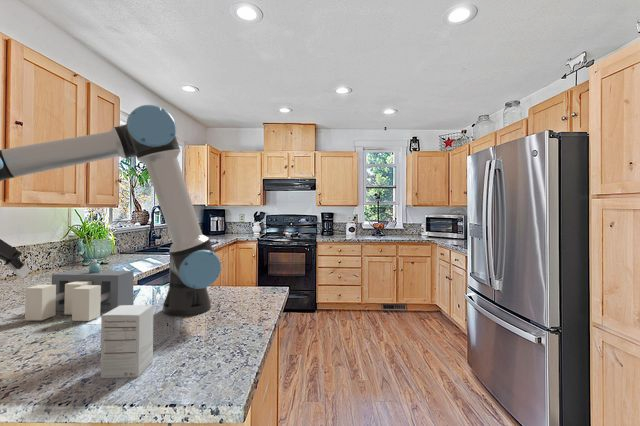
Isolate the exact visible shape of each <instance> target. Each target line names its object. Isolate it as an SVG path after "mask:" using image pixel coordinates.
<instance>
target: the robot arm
mask: <svg viewBox="0 0 640 426" xmlns="http://www.w3.org/2000/svg"><path fill="white" fill-rule="evenodd" d="M176 134H177V125H176V122H175V119H174V118H173V116H172V115H171V114H170V113H169V111H167V109H164V108H163V107H160V106H158V105H154V104H144V105H140V106H138V107H136V108H134V109H133V110H132V111H131V112H130V113H129V114H128V116H127V118H126V123H125V124H122V125H119V126H118V125H117V126H113V127H112V128H110V130H109V131H105V132H98V133H93V134H87V135H82V136H76V137H75V136H74V137H70V138H69V137H68V138H63V139H57V140H56V139H55V140H50V141H46V142H45V141H44V142H37V143H34V144H27V145H21V146H15V147H9V148H5V149H0V182H2V181H5V180H9V179H14V178H18V177H24V176H29V175H34V174H37V173H43V172H48V171H53V170H57V169H63V168H68V167H73V166H78V165H83V164H88V163H91V162H92V163H93V162H97V161H101V160H107V159H111V158H117V157H120V158H122V159H129V158H135V157H136V159H137V161H138V162H140V163H142V164H144V166H145V167H146V171H147V173H148V176H149V178H150V181H151V184H152V187H153V190H154V193H155V195H156V199H157V201H158V204H159V207H160V209H161V213H162V216H163V219H164V222H165V225H166V227H167V230H168V234H169V235H170V239H171V242H172V243H171V245H170V246H169V251H168V252H169V253H168V254H169V273H168V274H169V280H168V287H169V288H168V291H167V293H166V296H165V299H164V301H163V302H164V303H163V304H162V313H163V314H164V315H167V316H170V317H171V316H173V317H186V316H187V317H188V316H194V315H199V314H203V313H207V312H208V311H210V310H211V308H212V306H211V305H212V301H211V297H210V295H209V291H208V287H210V286H212V285H214V284H215V282H216V281H217V280H218V278H219V277H220V274H221V271H222V262H221V260H220V258H219V256H218V255H217V254H216V253H215V252H214V249H213V246H212V243H211V240H210V237H208V236H207V235H205V234H203V232H202V229H201V226H200V223H199V220H198V217H197V215H196V211H195V207H194V205H193V202H192V200H191V196H190V193H189V190H188V188H187V184H186V181H185V178H184V175H183V172H182V169H181V166H180V163H179V160H178V156H179V155H180V153H181V147H180V145H179V142H178V138H177V136H176ZM22 255H23V253H22V252H21V251H19V250H18V249H16V248H15V247H14V246H12V245H10V244H9V243H7V242H6V241H4V240H2V239H1V238H0V260H1V261H4V263H3V264H4V265H5V266H6V267H8V268H9V270H11V272H13V273H14V274H15V275H16V276H17V277H18V278H19V279H20V280H23V279H25V277H27V276H28V274H30V272H31V270H30V268H28V266H27V265H26V264H24V262H23V261H22V260H20V256H22Z"/></svg>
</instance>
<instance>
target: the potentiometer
mask: <svg viewBox="0 0 640 426" xmlns="http://www.w3.org/2000/svg"><path fill="white" fill-rule="evenodd" d="M97 261H98V260H97V259H92V263H89V266H88V270H89V273H99V272H100V270H101V268H100V267H101V264H100V263H97Z"/></svg>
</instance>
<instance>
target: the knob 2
mask: <svg viewBox="0 0 640 426" xmlns="http://www.w3.org/2000/svg"><path fill="white" fill-rule="evenodd" d="M109 298H110V292H107V293H104V294H101V285H84V286H80V287H77V288H74V289H73V298H72V314H71V321H73V322H75V321H76V322H91V321H92V320H94V319H97V318H99V317H101V311H100V302H102V301H104V300H107V299H109Z"/></svg>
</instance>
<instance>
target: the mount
mask: <svg viewBox="0 0 640 426" xmlns="http://www.w3.org/2000/svg"><path fill="white" fill-rule="evenodd" d="M134 272H135V271H134V270H113V269H112V270H101V269H100V272H99V273H89V269H87V270H86V269H71V270H66V271H61V272H57V273H52V274H51V285H56V294H59V293H63V292H65V299H63V300H60V301H57V302H56V309H55V312H63V314H64V315H72V298H73V289H74V288H77V287H80V286H84V285H101V294H104V293H107V292H110V298H109V299H107V300H104V301H102V302H100V312H109V311H111V310H113V309H114V308H116V307H118V306H120V305H134V281H135V280H134V274H135V273H134Z"/></svg>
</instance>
